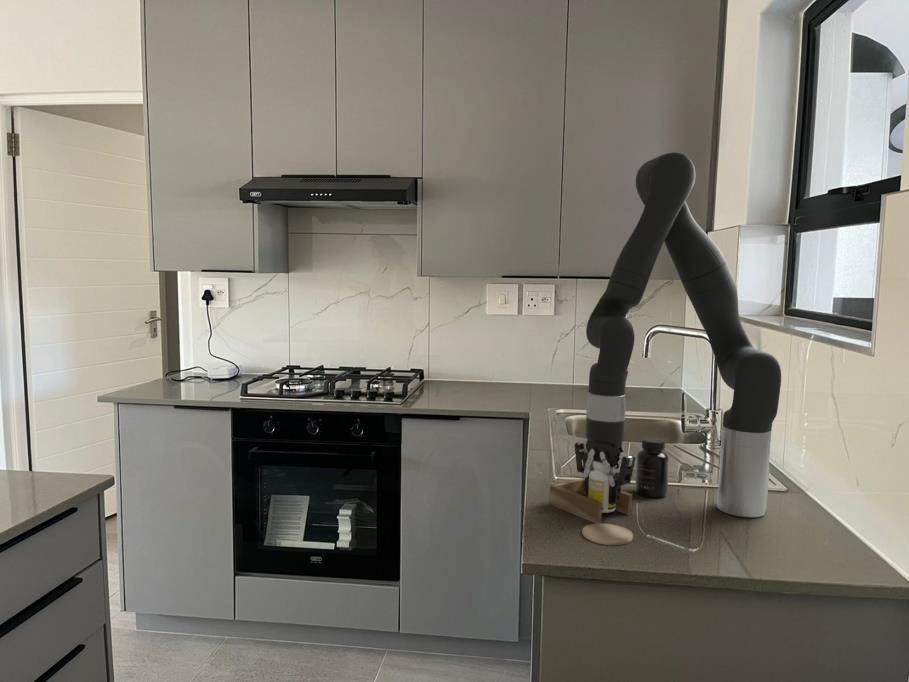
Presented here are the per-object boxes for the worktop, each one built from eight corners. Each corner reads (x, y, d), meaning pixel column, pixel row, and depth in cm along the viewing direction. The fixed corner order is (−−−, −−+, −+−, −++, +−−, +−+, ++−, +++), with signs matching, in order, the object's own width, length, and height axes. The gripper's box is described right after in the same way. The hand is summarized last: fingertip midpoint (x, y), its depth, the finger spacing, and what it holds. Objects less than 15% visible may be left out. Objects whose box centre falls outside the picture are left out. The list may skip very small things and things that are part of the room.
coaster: (604, 523, 135) (605, 520, 135) (643, 538, 128) (643, 535, 128) (572, 532, 130) (572, 529, 130) (610, 549, 123) (610, 546, 123)
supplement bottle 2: (642, 486, 159) (645, 434, 158) (672, 493, 155) (675, 439, 153) (629, 493, 154) (632, 439, 152) (659, 501, 149) (662, 445, 148)
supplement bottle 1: (611, 504, 144) (613, 457, 143) (618, 514, 138) (620, 465, 137) (585, 504, 144) (587, 457, 142) (590, 513, 138) (593, 464, 137)
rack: (582, 496, 151) (583, 477, 151) (631, 514, 141) (632, 494, 141) (549, 504, 145) (550, 485, 145) (597, 524, 135) (598, 503, 134)
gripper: (647, 420, 135) (643, 506, 137) (591, 407, 147) (587, 486, 149) (621, 425, 131) (617, 513, 133) (565, 411, 142) (562, 493, 144)
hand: (601, 499), depth 141 cm, fingers closed on supplement bottle 1, 5 cm apart
